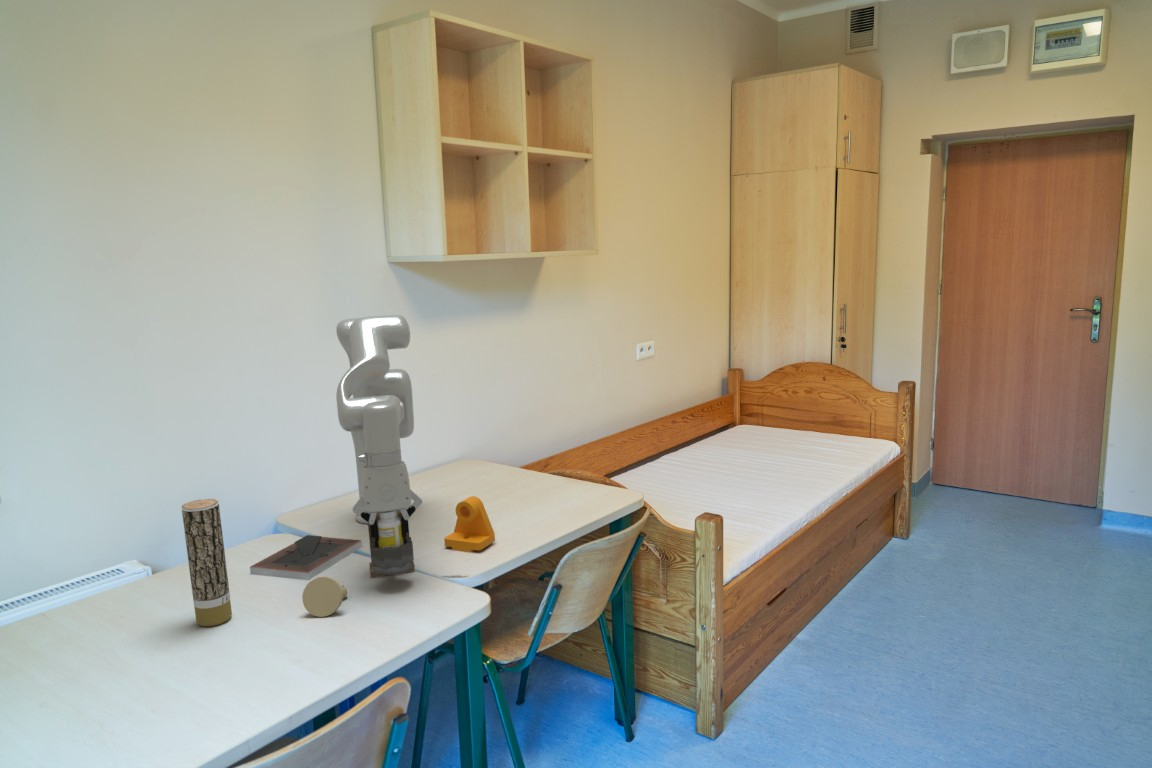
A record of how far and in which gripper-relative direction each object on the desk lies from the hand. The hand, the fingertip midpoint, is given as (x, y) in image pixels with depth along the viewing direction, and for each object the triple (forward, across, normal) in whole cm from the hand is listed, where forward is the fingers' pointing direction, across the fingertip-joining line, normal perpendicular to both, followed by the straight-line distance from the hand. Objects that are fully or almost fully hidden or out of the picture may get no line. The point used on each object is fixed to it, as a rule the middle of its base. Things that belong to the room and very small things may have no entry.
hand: (390, 537), depth 177 cm
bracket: (+12, +20, +18) cm, 29 cm away
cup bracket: (+11, 0, +4) cm, 12 cm away
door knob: (+12, -14, -6) cm, 19 cm away
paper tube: (+11, -37, -4) cm, 39 cm away
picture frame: (+12, -19, +24) cm, 33 cm away
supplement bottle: (+4, 0, 0) cm, 4 cm away
